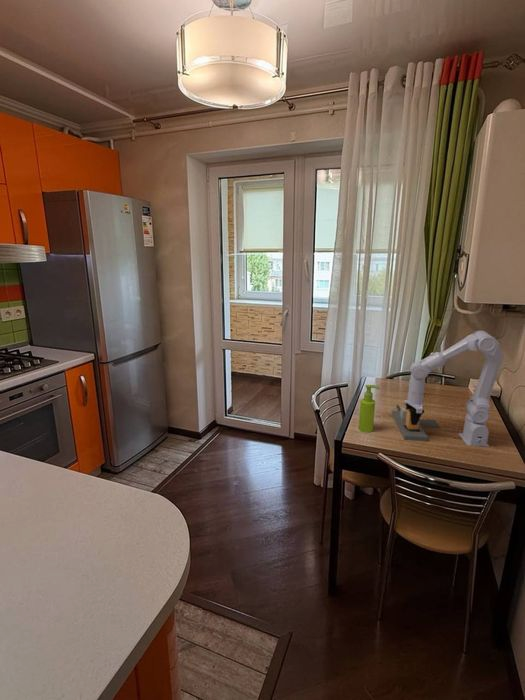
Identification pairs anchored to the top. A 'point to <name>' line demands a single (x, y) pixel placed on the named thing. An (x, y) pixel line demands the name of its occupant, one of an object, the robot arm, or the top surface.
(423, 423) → the mat
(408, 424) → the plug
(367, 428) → the soap dispenser
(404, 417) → the grey panel with knob
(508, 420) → the top surface
